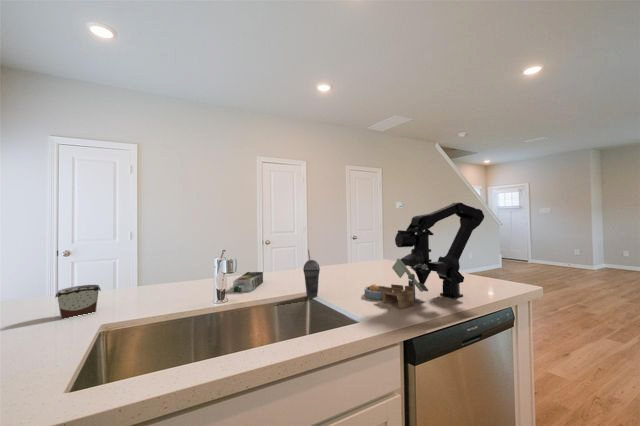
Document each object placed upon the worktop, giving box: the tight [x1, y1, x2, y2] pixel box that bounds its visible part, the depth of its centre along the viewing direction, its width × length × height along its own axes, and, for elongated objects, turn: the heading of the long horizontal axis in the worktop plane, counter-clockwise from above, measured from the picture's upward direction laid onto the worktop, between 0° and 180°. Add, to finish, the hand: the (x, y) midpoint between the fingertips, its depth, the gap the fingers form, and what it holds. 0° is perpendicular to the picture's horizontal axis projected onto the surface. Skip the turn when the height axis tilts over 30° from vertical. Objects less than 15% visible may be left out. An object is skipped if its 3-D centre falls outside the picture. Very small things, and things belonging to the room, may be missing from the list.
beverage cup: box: [302, 249, 321, 299], centre depth 114 cm, size 7×7×20 cm
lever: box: [391, 258, 429, 293], centre depth 103 cm, size 19×4×6 cm
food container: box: [54, 284, 101, 320], centre depth 98 cm, size 12×6×10 cm, turn 135°
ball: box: [369, 284, 379, 292], centre depth 113 cm, size 4×4×4 cm
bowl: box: [364, 285, 386, 301], centre depth 112 cm, size 11×11×3 cm
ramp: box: [380, 284, 415, 309], centre depth 102 cm, size 7×11×7 cm, turn 27°
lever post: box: [407, 279, 421, 304], centre depth 104 cm, size 4×4×8 cm
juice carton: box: [232, 271, 264, 293], centre depth 132 cm, size 20×10×6 cm, turn 177°
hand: (422, 285), depth 107 cm, fingers closed, pressing on lever
